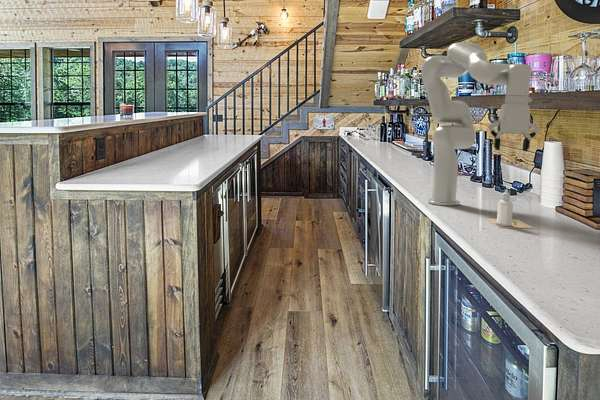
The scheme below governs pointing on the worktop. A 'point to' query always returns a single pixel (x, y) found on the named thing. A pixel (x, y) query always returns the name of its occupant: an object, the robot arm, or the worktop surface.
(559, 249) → the worktop surface
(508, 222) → the eye dropper bottle
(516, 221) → the card
